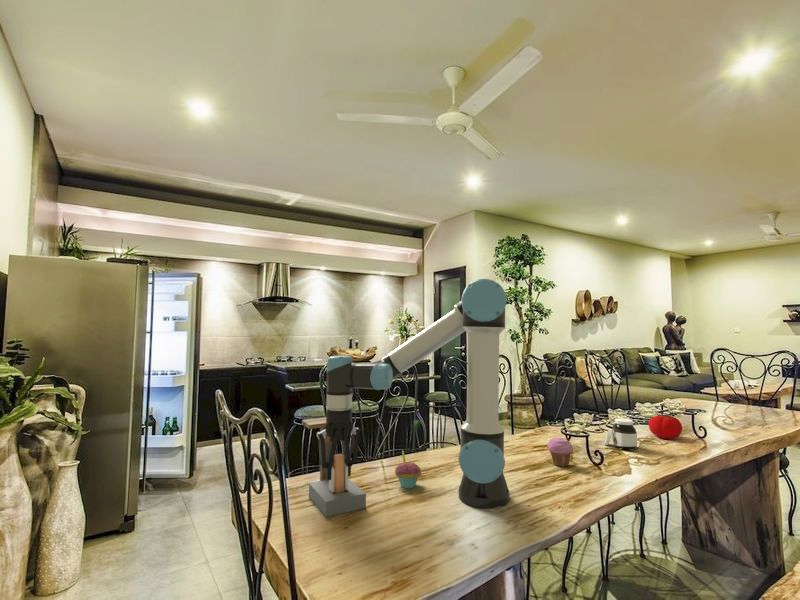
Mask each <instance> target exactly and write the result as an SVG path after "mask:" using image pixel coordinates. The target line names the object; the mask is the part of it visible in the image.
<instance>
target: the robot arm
mask: <svg viewBox="0 0 800 600" xmlns="http://www.w3.org/2000/svg"><path fill="white" fill-rule="evenodd" d="M460 299H461V300H460V301H458V302H457V303H456V304H454V305H453V306H454V307H453V310H451V311H450V312H448V313H447V314H445V315H443V316H442V317H441V318H439V319H438V320H436V321H434V322H433V323H432V324H431V325H429V326H427V327H426V328H424V329H423V330H422V331H419V333H417V334H416V335H414V336H413V337H411V338H410V339H408V340H406V341H405V342H404V343H403V344H401V345H399V346H398V347H396V348H395V349H394V350H392V351H391V352H389V353H388V354H386V355H385V356H383V357H382V358H380V359H378V360H376V361H373V362H354V360H353V357H352V356H350V355H331V356H329V357H328V358H327V363H326V406H325V407H326V408H327V409H326V410H325V411H326V412H325V413H326V416H325V417H326V426H325V430H323V431H321V432H320V431H317V432H316V433H315V434H316V435H315V436H316V437H317V440H318V459H319V460H318V462H319V466H320V465H321V466H322V467H323V468H326V479H327V480H329V490H330V491H331V492H334V475H335V469H334V468H333V459H334V455H335V454H336V453H335V452H336V448H337V444H338V442H339V441H340V442H341V445H342V446H341V447H342V454H344V489H345V490H347V489H348V479H349V477H351V475H352V466H353V464H355V463H357V462H358V455H359V453H358V451H359V437H360V434H361V432H362V430H361V428H359V427H358V426H356V427H355V426H354V425H353V419H352V417H353V410H352V406H353V389H355V390H356V389H361V390H376V391H380V390H389V389H390V388H391V387H392V384H393V381H394V379H395V378H397V377H398V376H400V375H401V374H403V373H404V372H405V371H407V370H408V369H410V368H412V367H413V366H415V365H416V364H418V363H419V362H422V360H424V359H425V358H427V357H428V356H430V355H431V354H434V352H436V351H437V350H438V349H440V348H442V347H443V346H445V345H446V344H447V343H449V342H451V341H452V340H454V339H455V338H457V337H459V336H460V335H461V334H463V333H465V332H466V334H467V366H466V367H467V370H466V373H467V374H466V419H465V421H463V423H462V424H461V426H460V447H459V449H460V450H459V454H458V464H459V467H460V469H461V471H462V475H461V480H460V485H459V486H458V499H459V500H460V501H461V502H462V503H464V504H466V505H469V506H471V507H475V508H482V509H495V508H501V507H502V508H503V507H504V506H507V505H508V504H509V503H510V499H511V498H510V495H511V494H510V489H509V487H508V483H507V480H506V477H505V475H504V469H505V466H506V464H505V463H506V459H505V445H504V444H505V428H504V427H503V425H502V423H501V422H500V421H499V409H500V407H499V402H500V401H499V399H500V398H499V392H500V387H499V386H500V383H499V382H500V335H501V333H502V332H504V330H505V329H506V306H507V301H508V300H507V299H508V298H507V294H506V292H505V289H504V288H503V287H502V286H501V284H500V283H499V282H497V281H495V280H493V279H490V278H478V279H475V280H474V281H473V280H472V282H469V284H468V285H467V286H466V287H464V290H463V291H462V294H461V298H460ZM326 433H327V435H328V436H329V437H330V438H329V447H328V453H327V459H326V452H325V440H324V439H325V437H326V436H325V435H326ZM350 434H351V444H350V443H349V442H350V440H349V435H350ZM349 445H351V446H349Z"/></svg>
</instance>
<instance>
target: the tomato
mask: <svg viewBox="0 0 800 600" xmlns="http://www.w3.org/2000/svg"><path fill="white" fill-rule="evenodd" d="M648 429H649V431H650V433H652V434H653V435H654V436H656V437H658V438H662V439H664V440H665V439H666V440H672V439H673V438H674V439H676V438H678V437H679V436H680V435H681V434H682V432H683V425H682V422H681V421H680V420H679V419H678V418H676V417H675V416H673V415H667V414H655V416H653V417H651V418H649V421H648Z"/></svg>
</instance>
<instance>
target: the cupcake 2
mask: <svg viewBox="0 0 800 600" xmlns="http://www.w3.org/2000/svg"><path fill="white" fill-rule="evenodd" d="M547 449H548V451H549V452H550V453H549V454H550V456H551V459H552V463H553V465H554V466H558V467H562V468H563V467H566V466H569V465H570V462H571V454H572V453H573V451H574V447H573V444H572V443H571V442H570V441H569V440H567V439H566V438H564V437H553V438H550V439H549V441H548V443H547Z"/></svg>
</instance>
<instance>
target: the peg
mask: <svg viewBox="0 0 800 600" xmlns="http://www.w3.org/2000/svg"><path fill="white" fill-rule="evenodd" d="M344 464H345V460H344V454H343V453H334V459H333V465H332V467H333V468H334V469H335V475H334V492H333V494H339V493H344Z"/></svg>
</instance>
